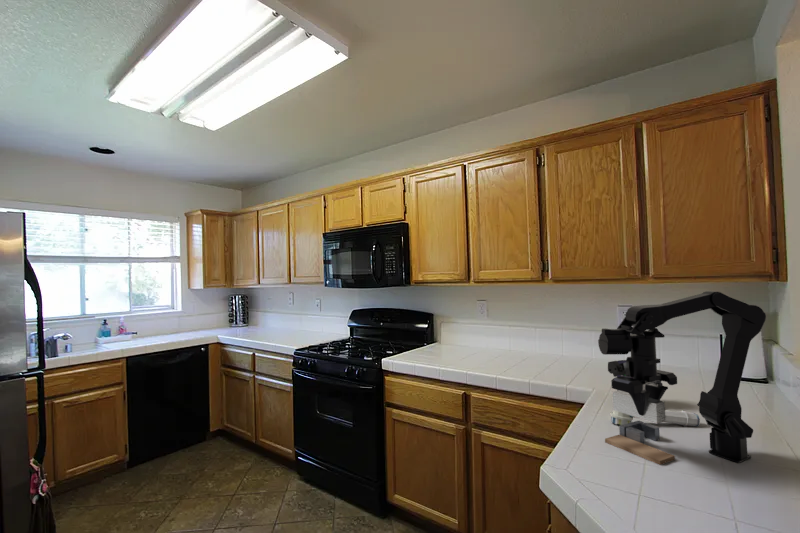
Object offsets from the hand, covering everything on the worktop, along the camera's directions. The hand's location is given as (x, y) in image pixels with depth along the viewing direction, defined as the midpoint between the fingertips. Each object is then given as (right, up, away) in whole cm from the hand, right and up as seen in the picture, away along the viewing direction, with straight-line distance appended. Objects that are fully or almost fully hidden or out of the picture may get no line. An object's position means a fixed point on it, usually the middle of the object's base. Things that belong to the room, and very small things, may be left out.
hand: (646, 413), depth 101 cm
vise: (+4, -11, +9) cm, 15 cm away
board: (-1, -11, +2) cm, 11 cm away
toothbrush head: (+15, -11, +20) cm, 27 cm away
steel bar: (-1, -1, +2) cm, 2 cm away
